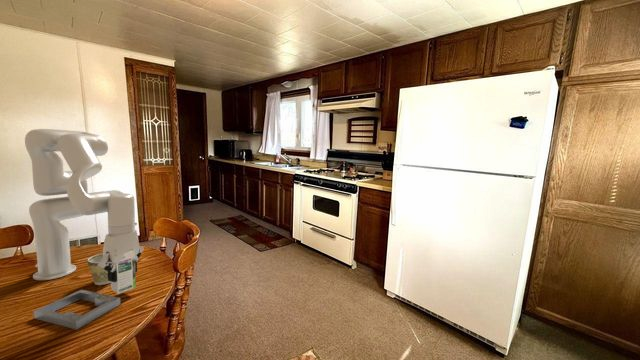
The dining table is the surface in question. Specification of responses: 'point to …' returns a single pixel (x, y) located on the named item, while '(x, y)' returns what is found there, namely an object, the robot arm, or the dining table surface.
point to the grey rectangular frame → (75, 319)
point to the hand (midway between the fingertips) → (123, 275)
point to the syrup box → (125, 273)
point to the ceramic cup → (98, 270)
